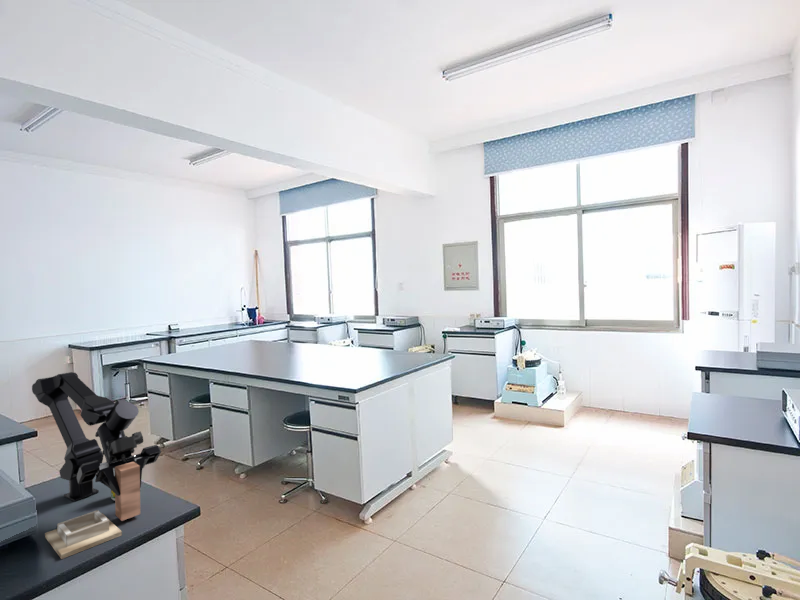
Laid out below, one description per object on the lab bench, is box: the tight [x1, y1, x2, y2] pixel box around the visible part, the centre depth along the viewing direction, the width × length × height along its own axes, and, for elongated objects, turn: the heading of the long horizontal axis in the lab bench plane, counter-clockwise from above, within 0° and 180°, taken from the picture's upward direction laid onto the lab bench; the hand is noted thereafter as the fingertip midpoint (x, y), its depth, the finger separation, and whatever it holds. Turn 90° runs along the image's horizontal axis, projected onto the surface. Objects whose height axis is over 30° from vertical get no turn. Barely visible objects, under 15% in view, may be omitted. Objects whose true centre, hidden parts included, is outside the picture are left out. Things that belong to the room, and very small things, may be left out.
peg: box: [114, 462, 141, 522], centre depth 113 cm, size 4×4×13 cm
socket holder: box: [44, 509, 123, 560], centre depth 105 cm, size 14×12×4 cm
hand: (129, 491), depth 112 cm, fingers closed on peg, 4 cm apart
